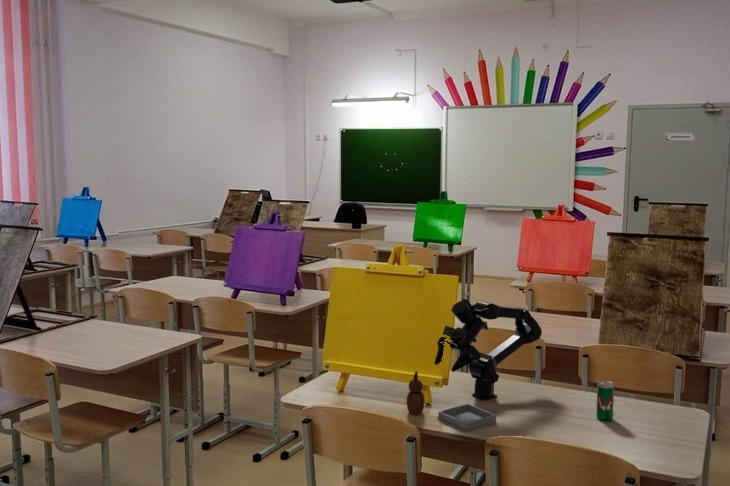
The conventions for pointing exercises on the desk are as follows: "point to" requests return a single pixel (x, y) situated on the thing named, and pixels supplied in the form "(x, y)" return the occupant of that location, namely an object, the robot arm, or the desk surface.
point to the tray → (467, 417)
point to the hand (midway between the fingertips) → (443, 367)
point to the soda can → (605, 400)
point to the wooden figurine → (415, 396)
